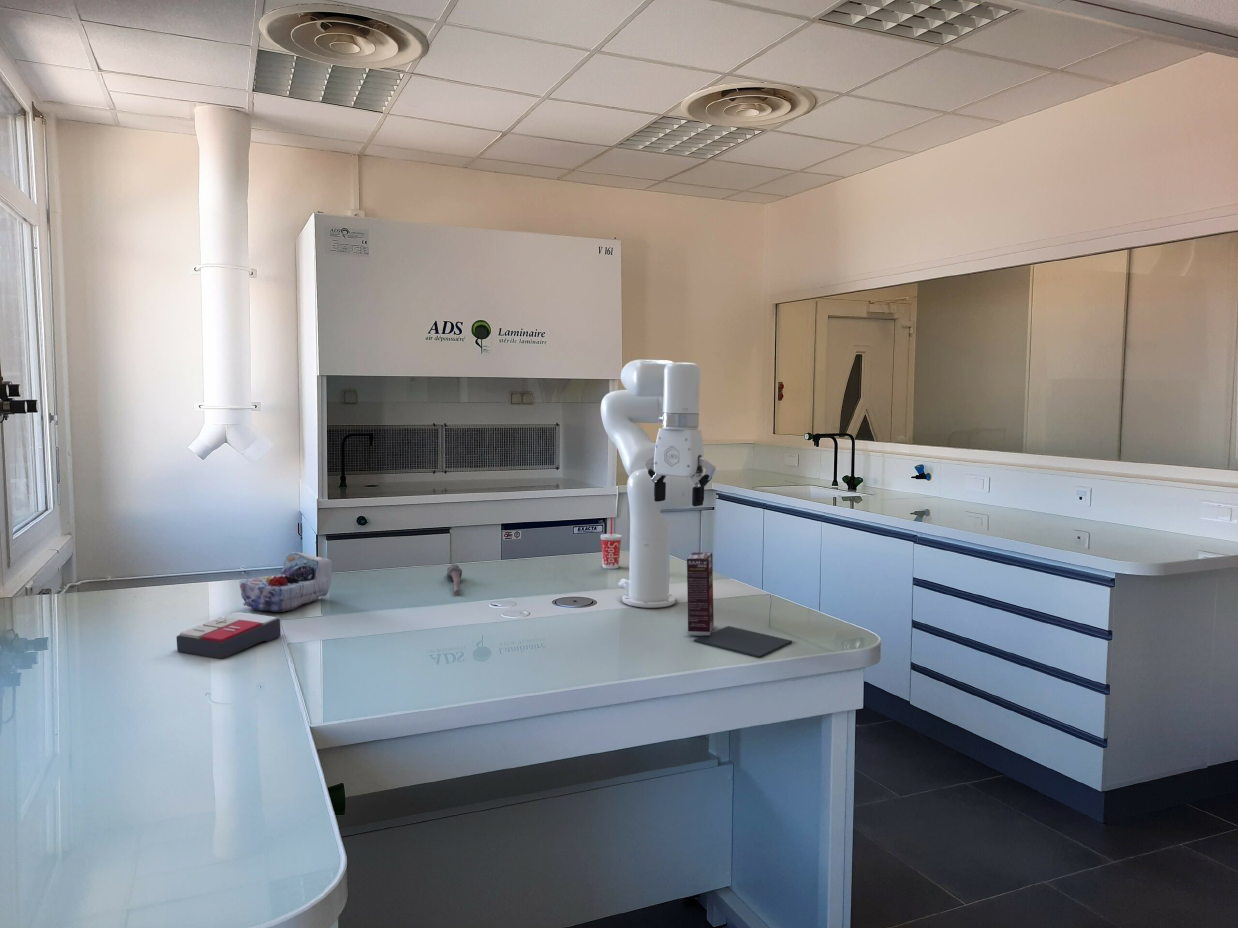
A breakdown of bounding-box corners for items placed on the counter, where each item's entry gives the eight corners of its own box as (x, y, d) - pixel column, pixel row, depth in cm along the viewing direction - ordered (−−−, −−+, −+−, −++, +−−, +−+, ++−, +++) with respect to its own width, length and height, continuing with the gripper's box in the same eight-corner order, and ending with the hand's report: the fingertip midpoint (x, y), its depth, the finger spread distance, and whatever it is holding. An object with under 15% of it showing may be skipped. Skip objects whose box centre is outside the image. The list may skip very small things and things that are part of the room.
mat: (693, 641, 167) (693, 639, 167) (728, 627, 177) (728, 625, 177) (759, 657, 158) (759, 655, 158) (792, 642, 168) (792, 640, 168)
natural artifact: (455, 579, 222) (464, 566, 222) (457, 596, 200) (467, 583, 200) (443, 571, 221) (452, 558, 221) (444, 588, 199) (454, 574, 199)
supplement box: (711, 636, 169) (709, 558, 168) (687, 635, 170) (685, 558, 169) (715, 625, 178) (713, 551, 177) (692, 625, 179) (690, 551, 178)
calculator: (174, 632, 154) (236, 608, 168) (176, 654, 155) (238, 629, 169) (221, 639, 151) (280, 614, 165) (222, 662, 151) (281, 635, 165)
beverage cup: (597, 568, 233) (598, 518, 231) (601, 564, 239) (602, 515, 237) (619, 569, 232) (620, 519, 230) (623, 565, 238) (624, 516, 236)
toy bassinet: (338, 551, 195) (277, 570, 176) (339, 596, 196) (278, 620, 177) (293, 546, 199) (228, 564, 181) (294, 590, 200) (230, 613, 182)
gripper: (636, 420, 177) (635, 500, 179) (705, 424, 166) (703, 509, 168) (657, 420, 183) (655, 497, 184) (725, 423, 172) (722, 505, 174)
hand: (678, 503), depth 176 cm, fingers open, 9 cm apart
